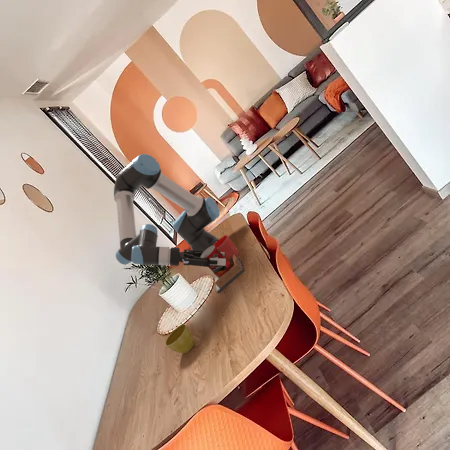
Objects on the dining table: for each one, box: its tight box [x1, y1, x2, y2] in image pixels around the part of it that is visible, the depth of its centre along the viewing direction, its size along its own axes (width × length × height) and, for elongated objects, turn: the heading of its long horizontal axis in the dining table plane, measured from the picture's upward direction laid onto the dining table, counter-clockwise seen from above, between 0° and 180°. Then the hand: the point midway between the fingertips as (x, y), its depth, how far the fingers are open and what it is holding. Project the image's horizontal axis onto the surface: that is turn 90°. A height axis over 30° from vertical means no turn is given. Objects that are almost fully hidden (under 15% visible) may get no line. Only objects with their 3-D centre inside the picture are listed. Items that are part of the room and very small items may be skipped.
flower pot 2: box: [214, 234, 240, 260], centre depth 224 cm, size 11×11×10 cm
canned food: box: [201, 245, 231, 277], centre depth 208 cm, size 8×8×11 cm
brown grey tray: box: [213, 255, 245, 294], centre depth 210 cm, size 16×14×4 cm
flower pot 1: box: [164, 323, 195, 354], centre depth 180 cm, size 10×10×7 cm
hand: (224, 258), depth 208 cm, fingers closed on canned food, 8 cm apart
